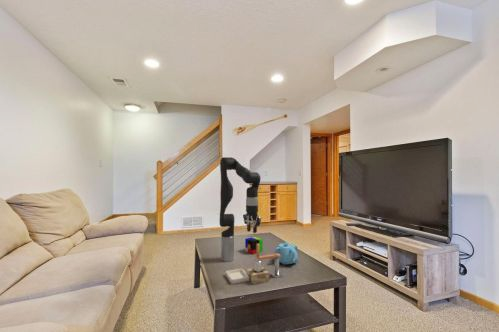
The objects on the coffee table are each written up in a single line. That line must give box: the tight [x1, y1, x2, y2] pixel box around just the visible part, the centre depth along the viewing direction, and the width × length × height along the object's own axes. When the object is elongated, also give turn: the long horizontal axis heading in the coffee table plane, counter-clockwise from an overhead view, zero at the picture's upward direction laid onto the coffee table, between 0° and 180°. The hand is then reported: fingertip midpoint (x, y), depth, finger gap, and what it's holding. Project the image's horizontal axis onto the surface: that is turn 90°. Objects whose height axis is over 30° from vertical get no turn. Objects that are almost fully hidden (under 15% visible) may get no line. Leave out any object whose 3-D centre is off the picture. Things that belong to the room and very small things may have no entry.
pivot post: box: [269, 257, 284, 279], centre depth 143 cm, size 6×6×11 cm
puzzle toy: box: [244, 236, 264, 255], centre depth 187 cm, size 10×10×10 cm
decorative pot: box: [273, 242, 299, 266], centre depth 165 cm, size 16×16×14 cm
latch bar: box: [256, 243, 280, 261], centre depth 141 cm, size 4×16×9 cm, turn 112°
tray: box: [225, 268, 251, 285], centre depth 139 cm, size 13×11×2 cm
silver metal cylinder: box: [253, 258, 263, 273], centre depth 138 cm, size 4×4×11 cm
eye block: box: [246, 266, 270, 285], centre depth 138 cm, size 10×10×5 cm
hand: (251, 231), depth 142 cm, fingers open, 4 cm apart
